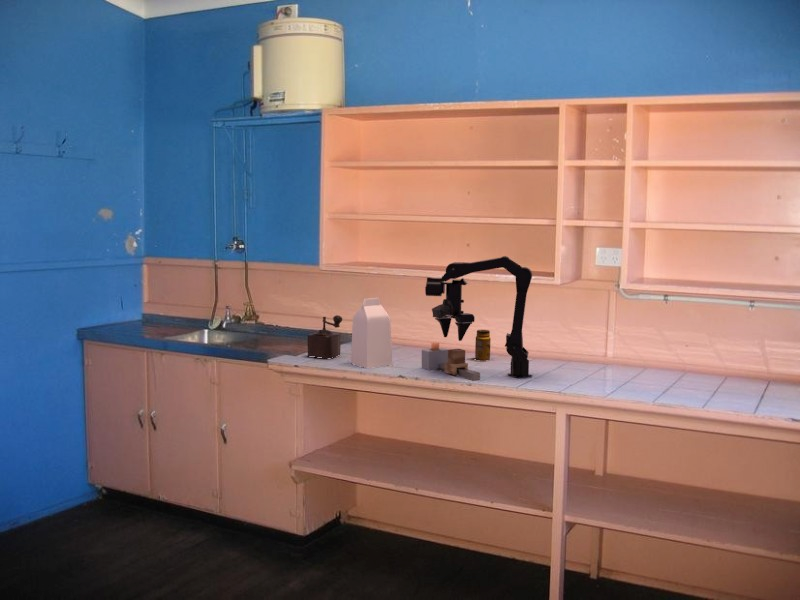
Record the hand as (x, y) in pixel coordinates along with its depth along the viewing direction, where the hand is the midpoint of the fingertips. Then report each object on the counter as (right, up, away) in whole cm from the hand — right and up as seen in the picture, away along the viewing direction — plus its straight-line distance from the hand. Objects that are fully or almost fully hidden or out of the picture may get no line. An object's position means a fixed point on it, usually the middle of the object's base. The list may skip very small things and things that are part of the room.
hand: (452, 338), depth 296 cm
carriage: (+1, -13, 0) cm, 13 cm away
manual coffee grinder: (-48, -9, +33) cm, 59 cm away
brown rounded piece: (-6, -5, +11) cm, 13 cm away
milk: (-31, -11, +17) cm, 37 cm away
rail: (+2, -13, -2) cm, 13 cm away
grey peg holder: (-6, -12, +11) cm, 17 cm away
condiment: (+13, -10, +30) cm, 34 cm away
